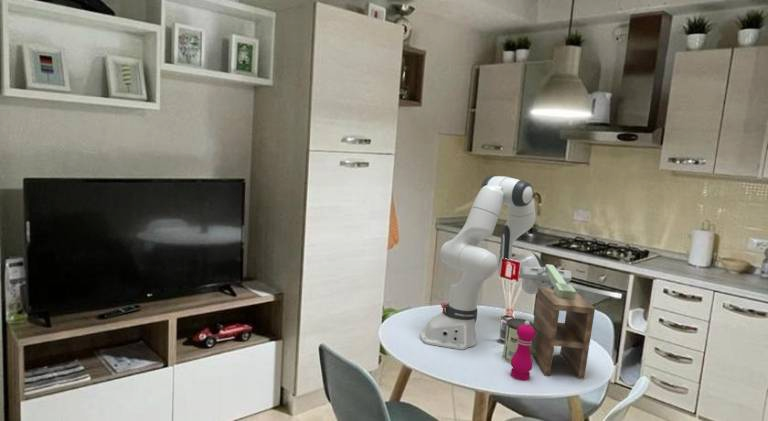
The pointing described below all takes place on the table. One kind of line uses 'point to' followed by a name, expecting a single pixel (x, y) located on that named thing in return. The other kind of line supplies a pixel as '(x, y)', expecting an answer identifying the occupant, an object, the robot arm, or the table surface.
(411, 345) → the table surface
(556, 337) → the walnut shelf
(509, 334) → the coffee can
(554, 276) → the green bar
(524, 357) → the pepper mill
